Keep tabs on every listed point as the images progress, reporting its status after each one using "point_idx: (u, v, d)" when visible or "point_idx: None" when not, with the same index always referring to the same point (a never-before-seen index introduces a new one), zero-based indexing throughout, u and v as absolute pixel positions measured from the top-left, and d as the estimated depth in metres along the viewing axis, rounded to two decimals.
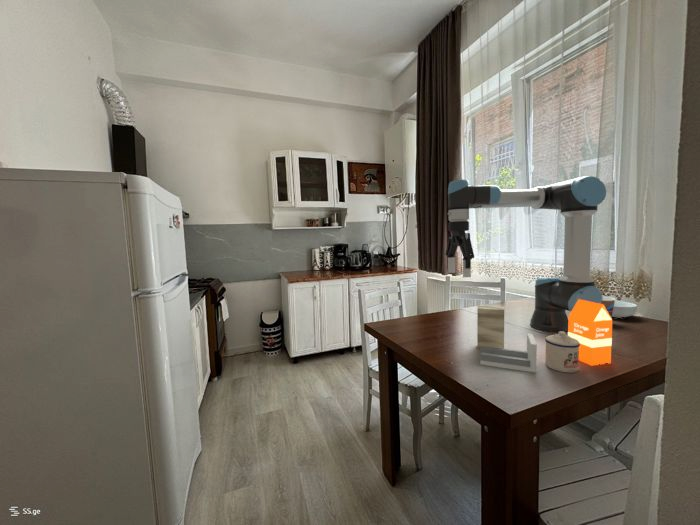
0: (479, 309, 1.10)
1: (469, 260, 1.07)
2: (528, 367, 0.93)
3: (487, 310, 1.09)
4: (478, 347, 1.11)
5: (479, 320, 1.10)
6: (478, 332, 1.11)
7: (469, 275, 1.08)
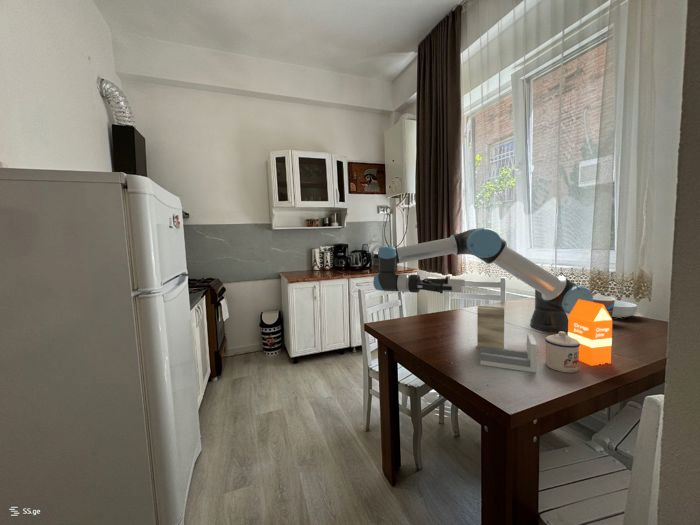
0: (479, 309, 1.10)
1: (443, 287, 1.09)
2: (528, 367, 0.93)
3: (487, 310, 1.09)
4: (478, 347, 1.11)
5: (479, 320, 1.10)
6: (478, 332, 1.11)
7: (459, 286, 1.08)
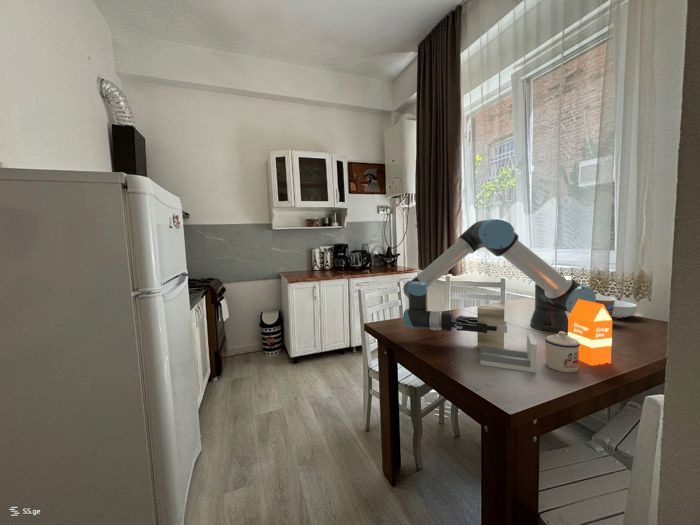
0: (479, 309, 1.10)
1: (487, 327, 1.08)
2: (528, 367, 0.93)
3: (487, 310, 1.09)
4: (478, 347, 1.11)
5: (479, 320, 1.10)
6: (478, 332, 1.11)
7: (504, 326, 1.06)
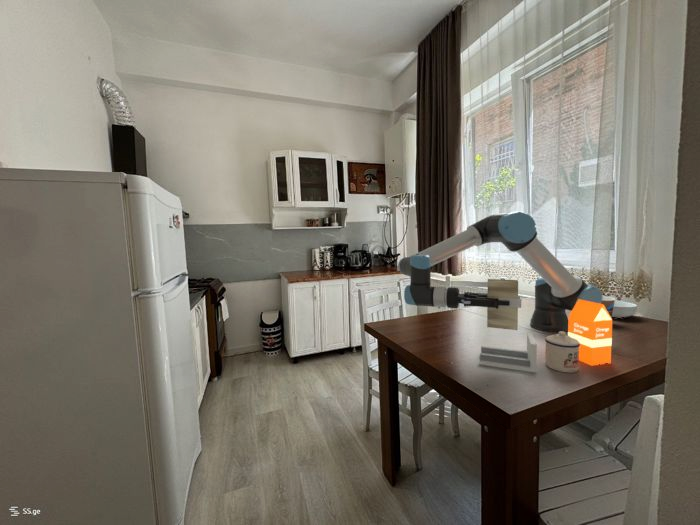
0: (489, 282, 0.98)
1: (499, 302, 0.95)
2: (528, 367, 0.93)
3: (498, 283, 0.97)
4: (488, 325, 0.99)
5: (490, 294, 0.98)
6: (488, 308, 0.99)
7: (519, 301, 0.94)
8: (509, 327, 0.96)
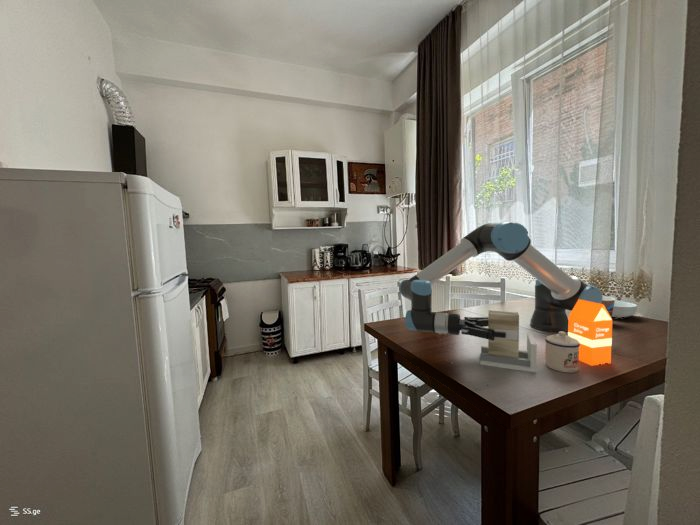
0: (490, 315, 0.98)
1: (495, 334, 0.93)
2: (528, 367, 0.93)
3: (499, 316, 0.97)
4: None
5: (490, 327, 0.99)
6: (489, 340, 0.99)
7: (515, 333, 0.92)
8: None
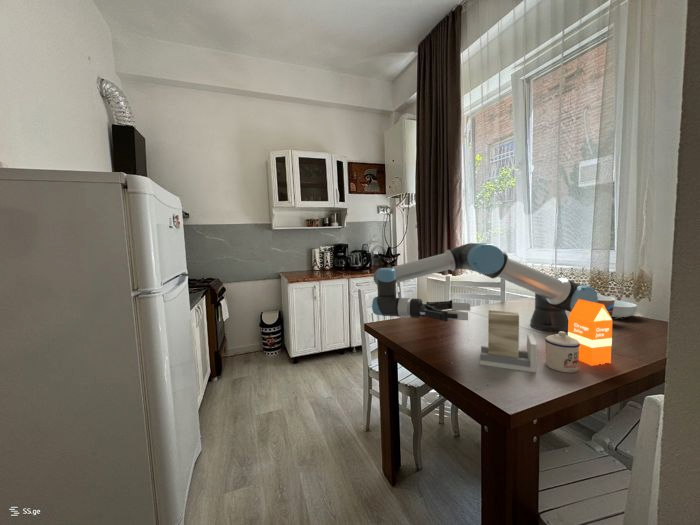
0: (490, 315, 0.98)
1: (447, 315, 1.00)
2: (528, 367, 0.93)
3: (499, 316, 0.97)
4: None
5: (490, 327, 0.99)
6: (489, 340, 0.99)
7: (465, 314, 0.99)
8: None
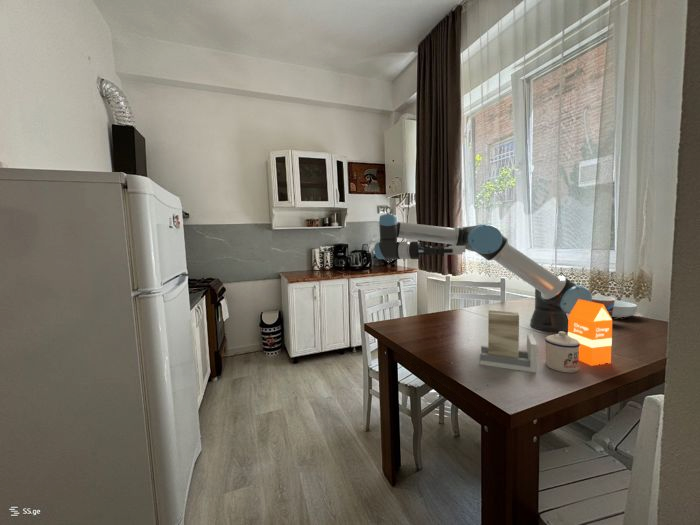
0: (490, 315, 0.98)
1: (444, 250, 1.10)
2: (528, 367, 0.93)
3: (499, 316, 0.97)
4: None
5: (490, 327, 0.99)
6: (489, 340, 0.99)
7: (460, 248, 1.08)
8: None
